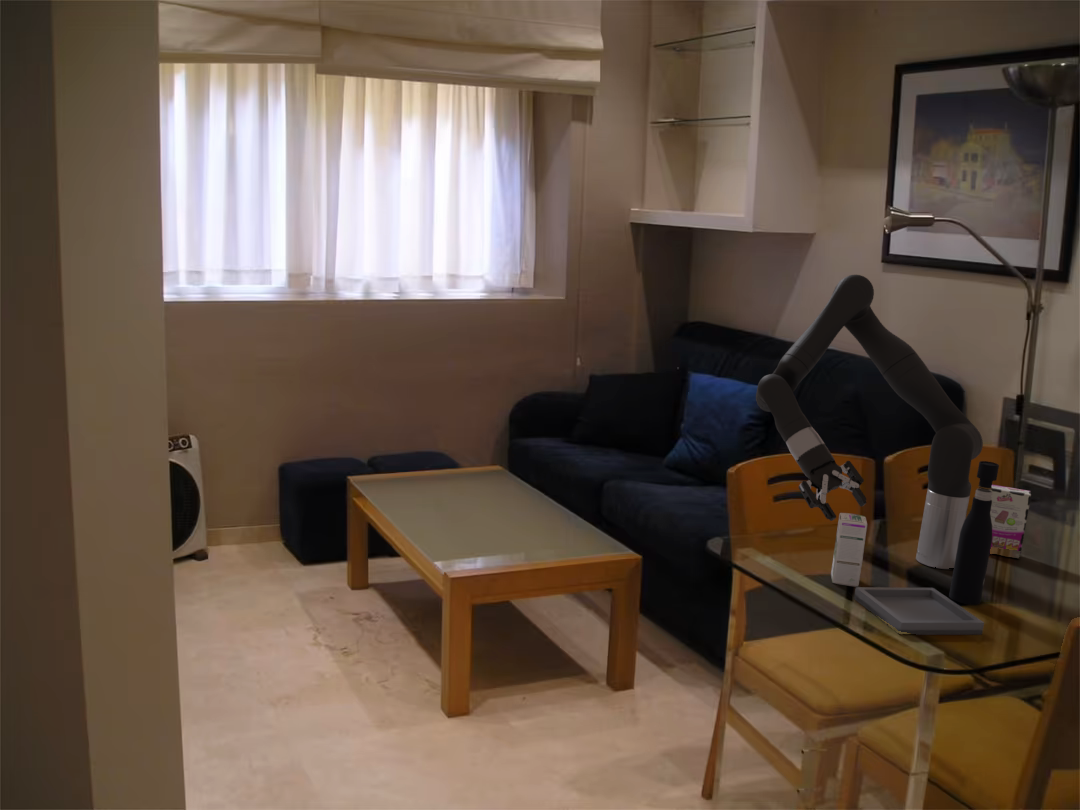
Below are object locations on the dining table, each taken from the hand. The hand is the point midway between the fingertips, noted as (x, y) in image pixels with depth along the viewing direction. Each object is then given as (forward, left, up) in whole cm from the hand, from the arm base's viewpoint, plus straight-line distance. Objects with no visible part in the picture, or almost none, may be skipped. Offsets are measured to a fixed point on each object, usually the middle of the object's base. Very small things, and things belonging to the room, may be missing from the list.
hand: (848, 512), depth 245 cm
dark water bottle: (-19, +19, -13) cm, 30 cm away
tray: (-2, +28, -13) cm, 31 cm away
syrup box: (+4, +9, -13) cm, 16 cm away
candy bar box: (-47, -11, -13) cm, 50 cm away
